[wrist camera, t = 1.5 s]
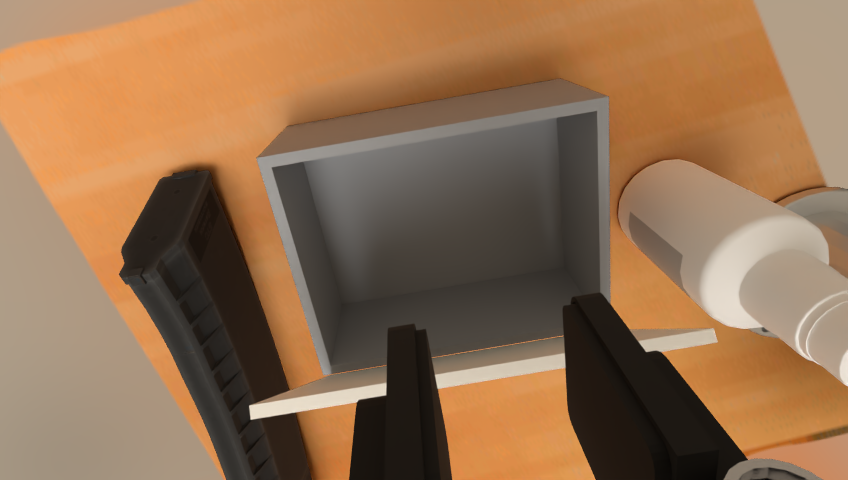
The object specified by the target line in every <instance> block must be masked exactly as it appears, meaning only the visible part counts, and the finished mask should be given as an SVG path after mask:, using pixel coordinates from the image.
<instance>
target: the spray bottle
mask: <svg viewBox="0 0 848 480" xmlns="http://www.w3.org/2000/svg"><path fill="white" fill-rule="evenodd" d="M618 218H619V222H620V226H621V229H622V231H623V232H624V233H625V235H626V236H627V237H628V239H629V240H630V241H631V242H632V243H633V244H634V245H636V246H637V247H638V248H639V249H640V250H641V251H642V252H643V253H644V254H645V255H646V256H647V257H648V258H649V259H650V260H651V261H652V262H653V263H654V264H655V265H657V266H658V267H659V268H660V269H661V270H662V271H663V272H664V273H665V274H666V275H667V276H668V277H669V278H670V279H671V280H672V281H673V282H674V283H675V284H676V285H678V286H679V287H680V288H681V289H682V290H683V291H684V292H685V293H686V294H687V295H688V296H689V297H690V298H691V299H692V300H693V301H694V302H695V303H696V304H697V305H699V306H700V307H701V308H702V309H703V310H704V311H705V312H706V313H707V314H708V315H709V316H711V317H712V318H714V319H715V320H717V321H719V322H720V323H722V324H724V325H726V326H730V327H736V328H741V329H749V328H759V327H764V328H765V329H767V330H768V331H770V332H772V333H773V334H775V335H777V336H778V337H779V338H780V339H781V340H783V341H784V342H785V343H786V344H787V345H789V346H790V347H791V348H792V349H793V350H795V351H796V352H797V353H798V354H799V355H801V356H802V357H804V358H806V359H807V360H809V361H814V362H815V363H817V364H819V365H821V366H822V367H824V368H825V369H826V370H827V371H828V372H830V373H831V374H832V375H833V376H835V377H836V378H837V379H838V380H839V381H841V382H842V383H843V384H845V385H846V386H848V278H846V277H844V276H843V275H841V274H840V273H839V272H838V271H836V270H835V269H834V268H832V267H831V266H829V250H828V243H827V241H826V240H825V238H824V236H823V234H822V232H821V230H820V229H819V228H818V227H816V226H815V225H814V224H812V223H811V222H810V221H808V220H807V219H805V218H804V217H802V216H800V215H798V214H796V213H794V212H792V211H790V210H788V209H786V208H784V207H782V206H780V205H778V204H776V203H774V202H772V201H770V200H768V199H766V198H763V197H761V196H759V195H757V194H755V193H753V192H751V191H749V190H747V189H745V188H743V187H741V186H739V185H737V184H735V183H733V182H731V181H729V180H727V179H725V178H723V177H721V176H719V175H717V174H715V173H713V172H711V171H709V170H707V169H705V168H703V167H701V166H699V165H697V164H695V163H692V162H688V161H684V160H680V159H674V160H663V161H660V162H658V163H655V164H652V165H650V166H647V167H646V168H645V169H643V170H642V171H641V172H639V173H638V174H636V175H635V176H634V177H633V178H632V180H631V181H630V182H629V183H628V185H627V186H626V187H625V189H624V191H623V194H622V196H621V198H620V201H619V210H618Z"/></svg>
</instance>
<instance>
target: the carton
mask: <svg viewBox="0 0 848 480" xmlns="http://www.w3.org/2000/svg"><path fill="white" fill-rule="evenodd" d="M257 162H258V165H259V168H260V171H261V175H262V178H263V181H264V184H265V188H266V191H267V194H268V197H269V201H270V204H271V207H272V210H273V214H274V217H275V220H276V223H277V227H278V230H279V233H280V236H281V239H282V243H283V246H284V249H285V252H286V256H287V259H288V262H289V265H290V269H291V272H292V275H293V278H294V282H295V285H296V288H297V291H298V295H299V298H300V301H301V304H302V307H303V311H304V314H305V317H306V320H307V324H308V327H309V330H310V333H311V337H312V340H313V343H314V346H315V350H316V353H317V356H318V359H319V363H320V366H321V369H322V372H323V375H328V374H334V373H340V372H346V371H352V370H358V369H364V368H370V367H376V366H382V365H387V334H388V328H390V327H396V326H402V325H408V324H415V327H416V330H421V329H426V331H427V336H428V341H429V347H430V352H431V357H436V356H442V355H448V354H454V353H460V352H466V351H472V350H478V349H484V348H490V347H496V346H502V345H508V344H514V343H520V342H526V341H532V340H538V339H544V338H550V337H556V336H562V335H564V331H563V306H564V305H570V304H571V298H572V297H574V296H580V295H586V294H592V293H598V292H600V293H602V294H603V295H604V296H605V298H606V299H607V300H608V302H609V303H610V177H609V96H606V95H603V94H601V93H598V92H595V91H593V90H590V89H587V88H585V87H582V86H579V85H577V84H574V83H571V82H569V81H566V80H563V79H561V78H560V79H554V80H549V81H543V82H537V83H532V84H526V85H520V86H515V87H509V88H503V89H497V90H492V91H486V92H480V93H475V94H469V95H463V96H457V97H452V98H446V99H440V100H435V101H429V102H423V103H417V104H412V105H406V106H400V107H395V108H389V109H383V110H377V111H372V112H366V113H360V114H355V115H349V116H343V117H337V118H332V119H326V120H320V121H315V122H309V123H303V124H297V125H292V126H287V127H286V128H285V129H284V130H283V131H282V132H281V133H280V134H279V135H278V136H277V137H276V138H275V139H274V140H273V141H272V142H271V143H270V145H269V146H268V147H267V148H266V149H265V150H264V151H263V152H262V153H261V154H260V155H259V156H258V157H257Z"/></svg>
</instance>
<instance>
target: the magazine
mask: <svg viewBox="0 0 848 480" xmlns="http://www.w3.org/2000/svg"><path fill="white" fill-rule="evenodd" d="M211 180H212V176H211V174H210V172H209V171H208V170H206V171H199V172H198V171H197V170H190V171H184V172H178V173H173V175H172V176H169V177H163V178H162V179H160V180H159V182H158V184H157V185H156V187H155V189H154V191H153V193H152V194H151V196H150V198H149V200H148V202H147V203H146V205H145V207H144V209H143V211H142V212H141V214H140V216H139V218H138V220H137V221H136V223H135V225H134V227H133V229H132V230H131V232H130V234H129V236H128V238H127V239H126V241H125V243H124V245H123V247H122V251H121V253H122V256H123V259H124V263H125V264H124V266H123V268H122V269H121V271H120V273H119V275H120V277H121V278H122V280H123V281H124V282H125V284H126V285H128V284H129V286H130V287H131V288H132V290H133V291H134V293H135V294H136V296H137V297H138V299H139V300H140V301H141V303H142V304H143V306H144V307H145V309H146V310H147V312H148V314H149V315H150V317H151V319H152V320H153V322H154V324H155V325H156V327H157V329H158V330H159V332H160V334H161V335H162V337H163V339H164V341H165V343H166V345H167V347H168V348H169V350H170V352H171V354H172V356H173V358H174V360H175V363H176V365H177V367H178V369H179V371H180V373H181V375H182V378H183V380H184V382H185V384H186V386H187V388H188V390H189V392H190V394H191V396H192V398H193V400H194V402H195V404H196V407H197V409H198V411H199V413H200V415H201V417H202V419H203V421H204V424H205V426H206V429H207V431H208V433H209V436H210V438H211V441H212V443H213V445H214V448H215V451H216V453H217V456H218V459H219V461H220V464H221V466H222V469H223V472H224V475H225V477H226V480H312V479H311V474H310V469H309V467H308V463H307V459H306V455H305V451H304V446H303V443H302V439H301V435H300V431H299V427H298V423H297V419H296V415H295V413H289V414H283V415H276V416H270V417H264V418H258V419H252V420H251V419H250V408H249V405H252V404H255V403H257V402H260V401H263V400H266V399H268V398H271V397H274V396H276V395H279V394H282V393H284V392H287V391H289V389H288V386H287V383H286V379H285V376H284V372H283V369H282V366H281V363H280V359H279V356H278V353H277V350H276V347H275V344H274V341H273V338H272V335H271V332H270V329H269V327H268V324H267V321H266V318H265V315H264V312H263V310H262V307H261V304H260V301H259V299H258V296H257V293H256V291H255V288H254V285H253V283H252V280H251V278H250V275H249V272H248V270H247V267H246V265H245V262H244V260H243V257H242V255H241V253H240V250H239V248H238V245H237V243H236V240H235V238H234V235H233V233H232V231H231V228H230V226H229V223H228V221H227V218H226V216H225V213H224V211H223V209H222V206H221V204H220V201H219V199H218V196H217V194H216V192H215V189H214V187H213V184H212V182H211Z"/></svg>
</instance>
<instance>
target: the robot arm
mask: <svg viewBox="0 0 848 480" xmlns="http://www.w3.org/2000/svg"><path fill="white" fill-rule="evenodd" d="M776 204H778V205H780V206H782V207H784V208H786V209H788V210H790V211H792V212H794V213H796V214H798V215H800V216H802V217H804V218H805V219H807V220H808V221H810V222H811V223H812V224H814V225H815V226H816V227H818V228H819V229H820V230H821V232H822V234H823V236H824V238H825V240H826V241H827V243H828V250H829V266H831V267H832V268H834V269H835V270H836V271H838V272H839V273H840V274H841V275H843V276H844V277H846V278H848V189H844V188H840V187H822V188H816V189H810V190H805V191H802V192H799V193H797V194H794V195H791V196H789V197H787V198H785V199H783V200H781V201H779V202H777V203H776ZM749 330H750V331H752V332H754V333H757V334H759V335H762V336H767V337H772V338H779V337H778V336H777V335H775V334H773V333H772V332H770V331H768V330H767V329H765V328H764V327H759V328H749ZM563 331H564V349H565V368H566V386H567V404H568V412H569V417H570V420H571V423H572V426H573V428H574V431H575V433H576V435H577V437H578V440H579V442H580V444H581V447H582V449H583V451H584V454H585V456H586V458H587V460H588V463H589V465H590V467H591V470H592V472H593V474H594V476H595V479H596V480H822V479H821V478H819V477H817V476H816V475H815V474H813V473H812V472H809V471H807V470H805V469H802V468H800V467H798V466H795V465H793V464H790V463H786V462H782V461H778V460H773V459H751V460H748V459H747V458H746V457H745V455H744V454H743V453H742V452H741V450H740V449H739V448H738V446H737V445H736V444H735V443H734V441H733V440H732V439H731V438H730V436H729V435H728V434H727V433H726V431H725V430H724V429H723V428H722V426H721V425H720V424H719V423H718V421H717V420H716V419H715V418H714V416H713V415H712V414H711V413H710V411H709V410H708V409H707V408H706V406H705V405H704V404H703V403H702V401H701V400H700V399H699V398H698V396H697V395H696V394H695V393H694V391H693V390H692V389H691V388H690V386H689V385H688V384H687V383H686V381H685V380H684V379H683V378H682V376H681V375H680V374H679V373H678V371H677V370H676V369H675V368H674V366H673V365H672V364H671V363H670V361H669V360H668V359H667V358H666V357H665V356H664V355H663V354H662V353H661V352H659V351H657V350H656V351H650V352H646V351H645V350H644V348H643V347H642V346H641V344H640V343H639V342H638V340H637V339H636V338H635V336H634V335H633V334H632V332H631V331H630V330H629V328H628V327H627V326H626V324H625V323H624V322H623V320H622V319H621V318H620V316H619V315H618V314H617V312H616V311H615V310H614V308H613V307H612V306H611V304H610V303H609V302H608V300H607V299H606V298H605V296H604V295H603V294H602V293H600V292H598V293H592V294H586V295H580V296H574V297H572V298H571V304H570V305H564V306H563ZM349 480H452V475H451V467H450V459H449V451H448V443H447V436H446V430H445V425H444V419H443V414H442V409H441V404H440V399H439V393H438V388H437V383H436V378H435V373H434V367H433V362H432V357H431V352H430V347H429V341H428V336H427V331H426V329H421V330H416V327H415V324H408V325H402V326H396V327H390V328H388V334H387V382H386V395H384V396H378V397H372V398H366V399H360V400H358V402H357V406H356V415H355V425H354V435H353V446H352V456H351V466H350V477H349Z"/></svg>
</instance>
